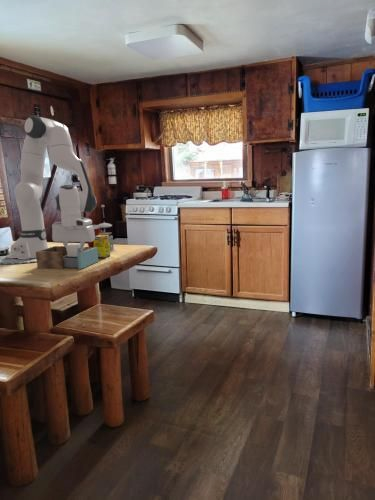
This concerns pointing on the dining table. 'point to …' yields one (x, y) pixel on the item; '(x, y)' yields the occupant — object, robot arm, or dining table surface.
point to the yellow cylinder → (102, 246)
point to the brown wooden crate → (51, 257)
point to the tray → (81, 259)
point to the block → (73, 250)
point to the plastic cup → (96, 231)
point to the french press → (107, 233)
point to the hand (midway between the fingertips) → (74, 251)
